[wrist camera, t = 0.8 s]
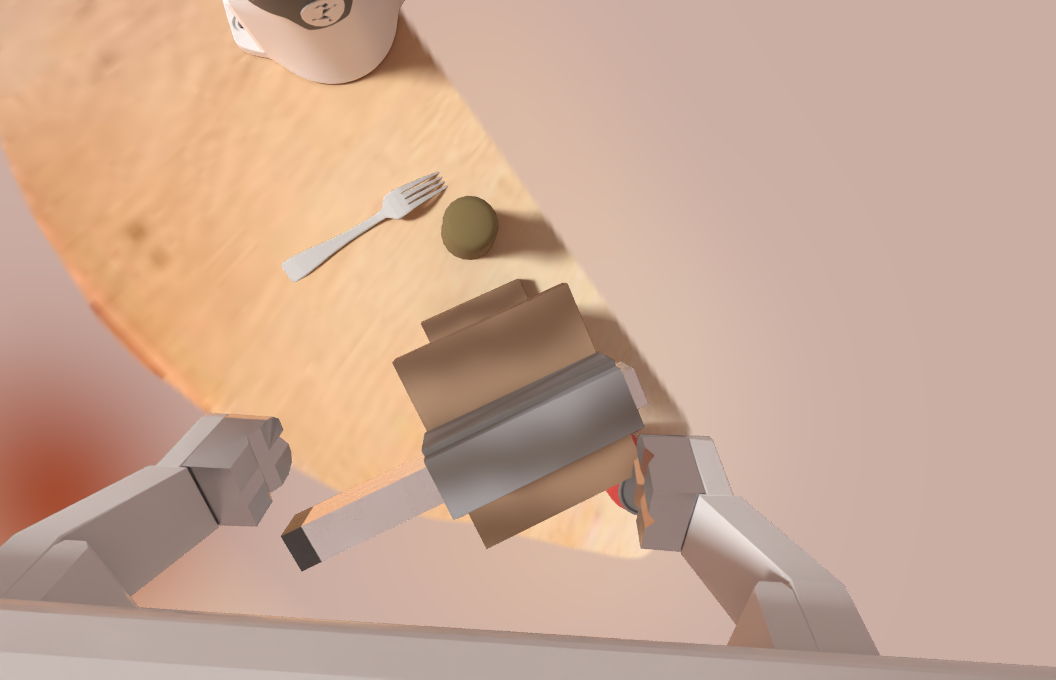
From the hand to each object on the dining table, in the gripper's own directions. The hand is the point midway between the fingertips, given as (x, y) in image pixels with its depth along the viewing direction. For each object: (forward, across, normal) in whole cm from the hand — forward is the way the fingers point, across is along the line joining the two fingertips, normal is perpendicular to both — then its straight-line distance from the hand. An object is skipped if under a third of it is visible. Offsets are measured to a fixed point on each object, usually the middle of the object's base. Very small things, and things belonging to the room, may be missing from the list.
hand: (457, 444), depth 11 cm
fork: (+43, +19, +11) cm, 48 cm away
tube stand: (+39, +4, +24) cm, 46 cm away
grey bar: (+13, +3, +14) cm, 20 cm away
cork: (+44, +8, +12) cm, 47 cm away
